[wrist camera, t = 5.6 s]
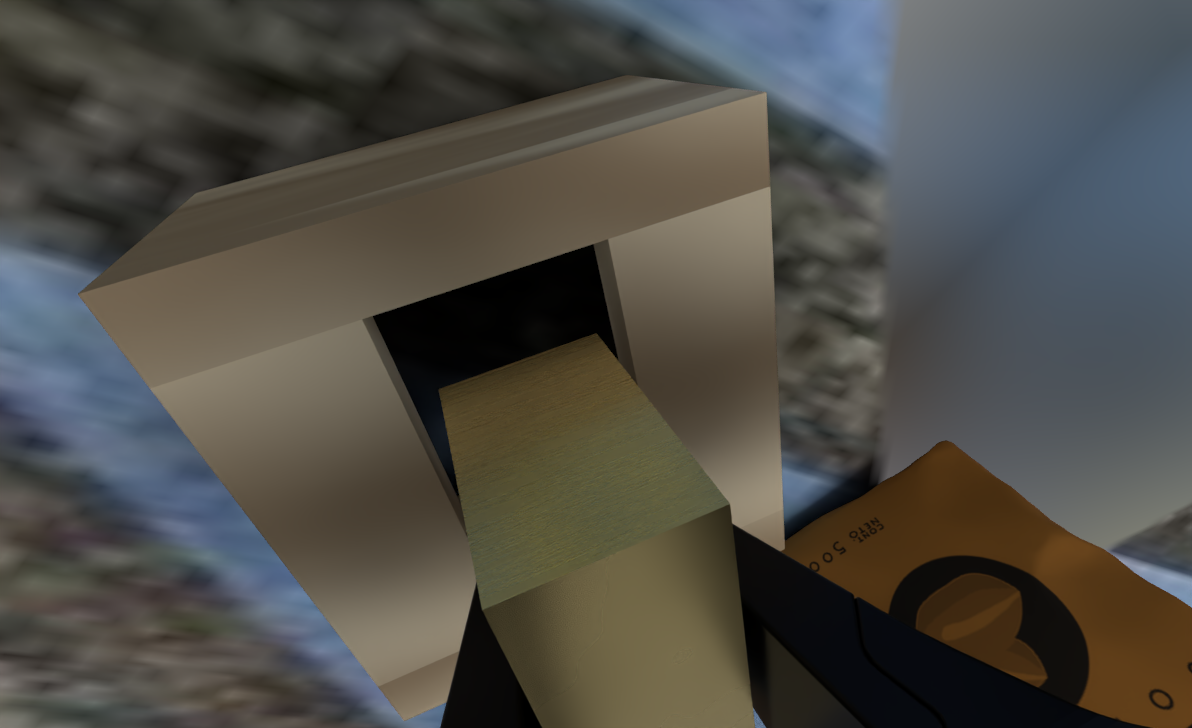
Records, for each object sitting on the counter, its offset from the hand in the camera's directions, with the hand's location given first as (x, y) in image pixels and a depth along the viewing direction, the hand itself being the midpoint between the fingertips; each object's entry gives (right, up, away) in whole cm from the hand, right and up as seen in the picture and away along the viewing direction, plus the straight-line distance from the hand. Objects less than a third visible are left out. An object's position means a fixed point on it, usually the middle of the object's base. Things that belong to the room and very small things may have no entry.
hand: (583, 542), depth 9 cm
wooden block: (0, 0, +1) cm, 1 cm away
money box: (-3, +4, +7) cm, 8 cm away
